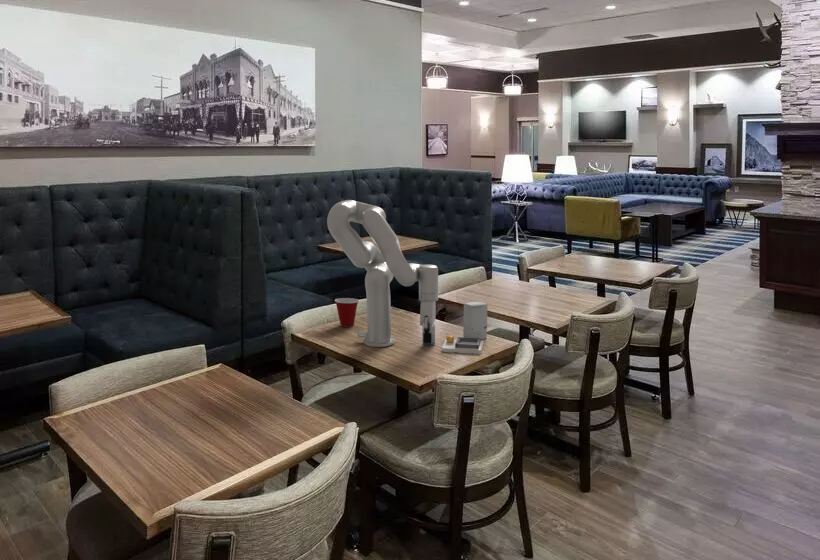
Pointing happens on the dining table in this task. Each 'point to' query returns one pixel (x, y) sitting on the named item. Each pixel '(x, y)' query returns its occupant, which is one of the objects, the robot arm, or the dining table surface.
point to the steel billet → (432, 336)
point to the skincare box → (475, 320)
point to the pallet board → (464, 345)
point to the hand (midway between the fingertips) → (428, 340)
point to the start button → (449, 338)
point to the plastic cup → (346, 310)
